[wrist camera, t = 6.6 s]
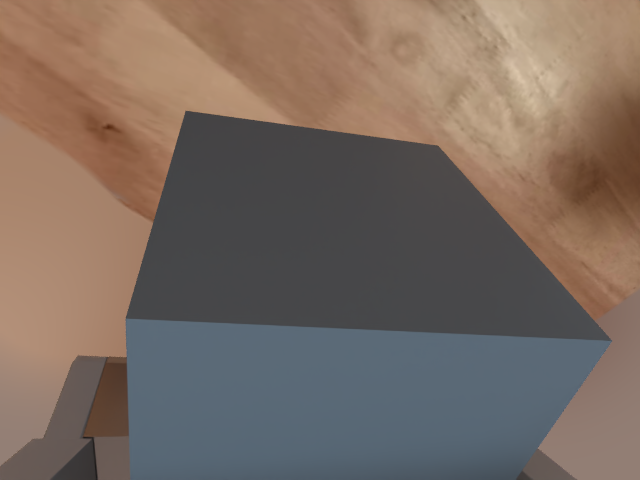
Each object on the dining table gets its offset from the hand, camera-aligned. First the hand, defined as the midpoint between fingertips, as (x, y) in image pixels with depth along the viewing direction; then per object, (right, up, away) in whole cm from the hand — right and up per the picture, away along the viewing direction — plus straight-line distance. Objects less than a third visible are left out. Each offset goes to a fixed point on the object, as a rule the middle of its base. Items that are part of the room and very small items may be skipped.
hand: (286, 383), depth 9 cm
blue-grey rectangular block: (0, +1, +1) cm, 2 cm away
